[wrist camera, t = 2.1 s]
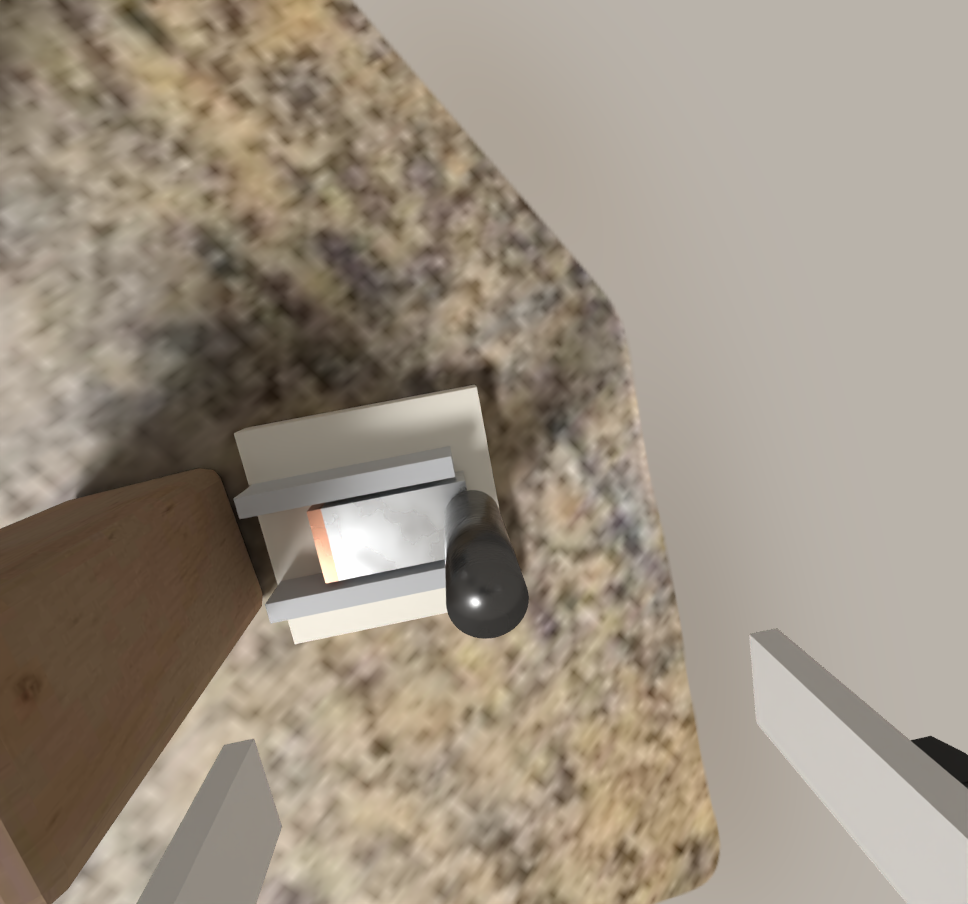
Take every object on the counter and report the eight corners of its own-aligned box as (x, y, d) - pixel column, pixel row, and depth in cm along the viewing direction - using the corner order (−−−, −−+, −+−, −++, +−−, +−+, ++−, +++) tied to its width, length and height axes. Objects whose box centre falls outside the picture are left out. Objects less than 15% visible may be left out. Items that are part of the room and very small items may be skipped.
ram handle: (316, 499, 31) (238, 596, 19) (489, 465, 32) (518, 539, 20) (333, 566, 32) (269, 698, 20) (501, 532, 33) (536, 642, 21)
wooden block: (221, 460, 33) (-103, 631, 13) (272, 601, 35) (58, 928, 15) (63, 499, 32) (-508, 735, 13) (124, 639, 35) (-287, 1022, 15)
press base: (246, 427, 32) (211, 442, 28) (474, 384, 33) (480, 391, 28) (302, 627, 35) (280, 672, 30) (511, 584, 36) (522, 622, 31)
